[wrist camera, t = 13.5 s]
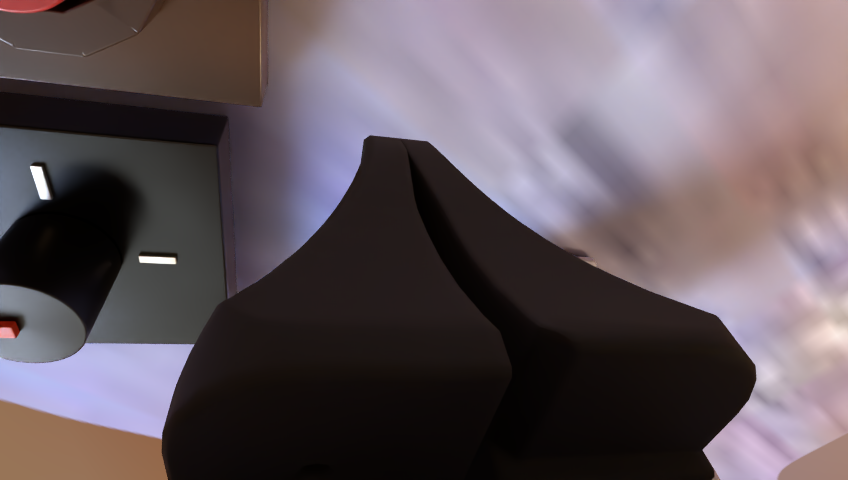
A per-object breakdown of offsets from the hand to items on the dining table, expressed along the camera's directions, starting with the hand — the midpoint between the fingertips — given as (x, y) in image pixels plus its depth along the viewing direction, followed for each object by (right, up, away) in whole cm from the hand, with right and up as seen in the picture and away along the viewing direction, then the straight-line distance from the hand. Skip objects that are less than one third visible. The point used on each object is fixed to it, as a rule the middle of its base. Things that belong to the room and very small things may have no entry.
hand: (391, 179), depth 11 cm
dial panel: (-14, 0, +11) cm, 18 cm away
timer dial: (-14, -2, +9) cm, 17 cm away
